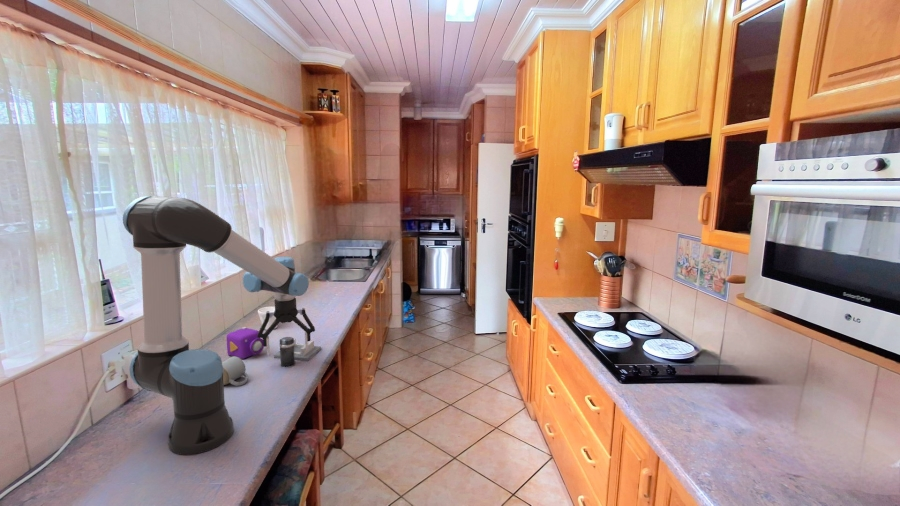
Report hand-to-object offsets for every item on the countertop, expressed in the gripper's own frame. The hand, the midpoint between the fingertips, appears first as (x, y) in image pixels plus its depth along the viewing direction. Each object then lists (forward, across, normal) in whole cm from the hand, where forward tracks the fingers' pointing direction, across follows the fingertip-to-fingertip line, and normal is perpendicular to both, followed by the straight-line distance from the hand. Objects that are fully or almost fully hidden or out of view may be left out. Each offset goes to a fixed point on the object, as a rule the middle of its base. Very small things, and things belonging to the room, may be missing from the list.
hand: (287, 351), depth 155 cm
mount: (+5, +4, +9) cm, 11 cm away
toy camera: (+5, -15, +14) cm, 21 cm away
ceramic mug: (+5, -18, -9) cm, 21 cm away
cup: (+6, -8, +43) cm, 44 cm away
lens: (+5, 0, 0) cm, 5 cm away
